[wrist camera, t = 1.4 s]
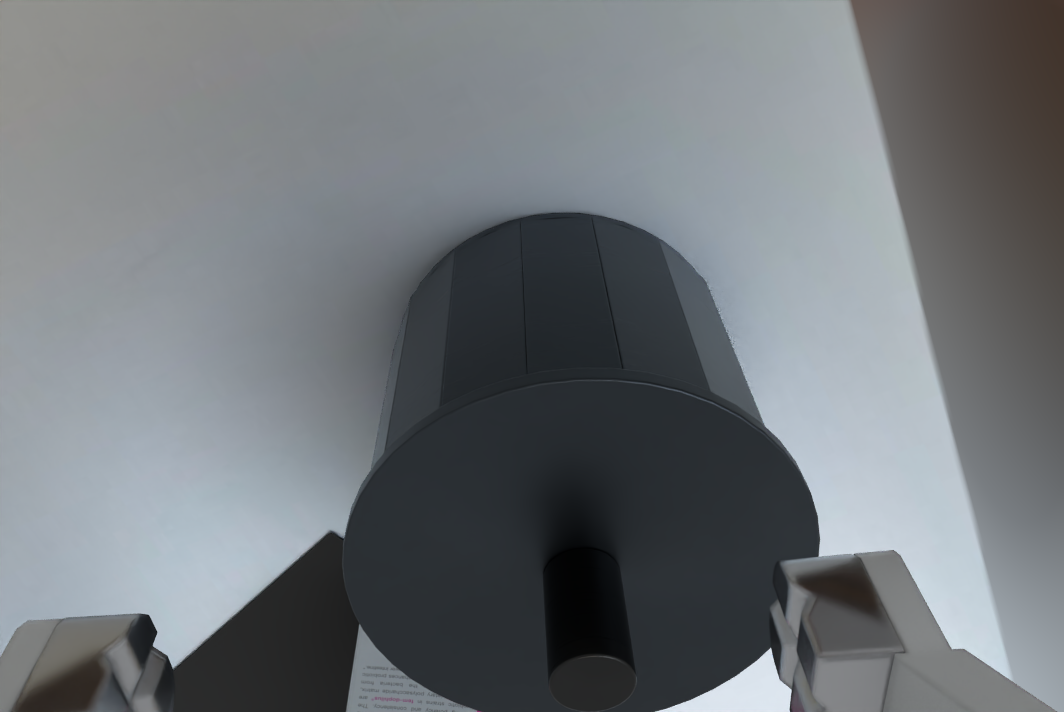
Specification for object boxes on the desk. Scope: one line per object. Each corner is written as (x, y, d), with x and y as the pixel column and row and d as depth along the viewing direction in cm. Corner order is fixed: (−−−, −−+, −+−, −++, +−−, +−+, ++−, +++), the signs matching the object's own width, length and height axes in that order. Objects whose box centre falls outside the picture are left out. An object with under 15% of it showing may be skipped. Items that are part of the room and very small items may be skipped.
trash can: (653, 154, 33) (716, 308, 24) (763, 421, 40) (847, 626, 30) (334, 296, 36) (273, 486, 27) (487, 524, 43) (483, 742, 33)
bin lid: (723, 274, 24) (773, 386, 20) (859, 617, 31) (918, 755, 27) (254, 467, 27) (206, 601, 22) (478, 739, 34) (474, 881, 30)
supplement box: (357, 644, 46) (320, 871, 37) (369, 561, 43) (331, 785, 34) (470, 656, 47) (462, 882, 37) (489, 575, 44) (486, 799, 34)
